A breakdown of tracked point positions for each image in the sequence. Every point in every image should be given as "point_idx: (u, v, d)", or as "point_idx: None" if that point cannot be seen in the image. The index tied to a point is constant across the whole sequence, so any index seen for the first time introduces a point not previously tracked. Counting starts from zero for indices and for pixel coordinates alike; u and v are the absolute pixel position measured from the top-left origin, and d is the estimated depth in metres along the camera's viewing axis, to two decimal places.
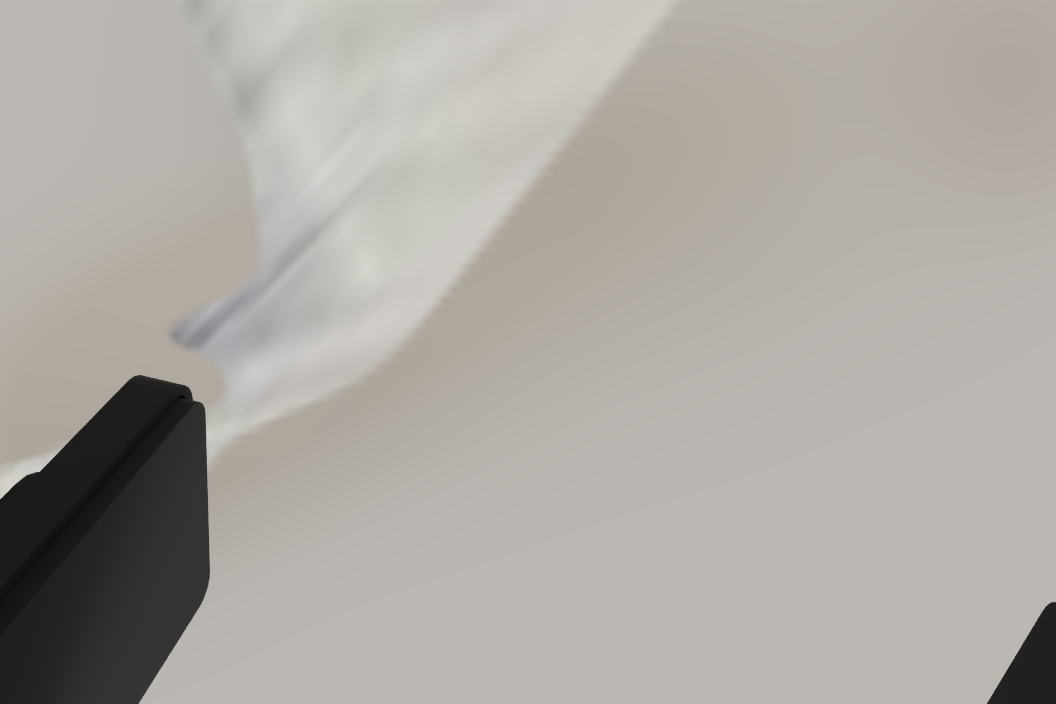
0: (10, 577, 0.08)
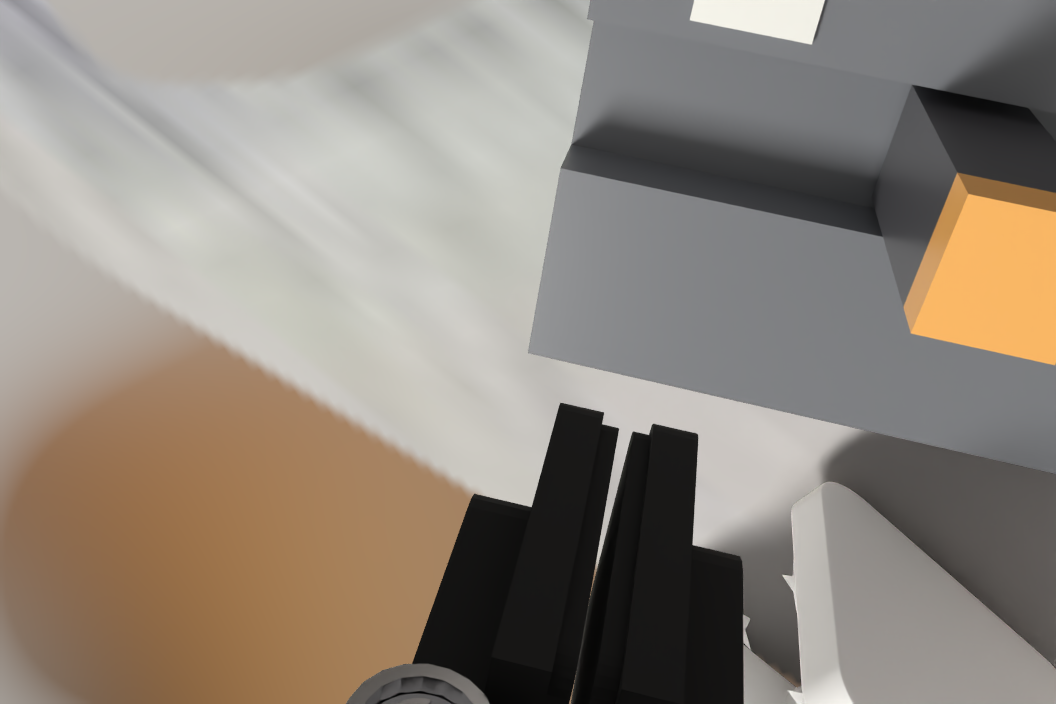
0: (564, 596, 0.09)
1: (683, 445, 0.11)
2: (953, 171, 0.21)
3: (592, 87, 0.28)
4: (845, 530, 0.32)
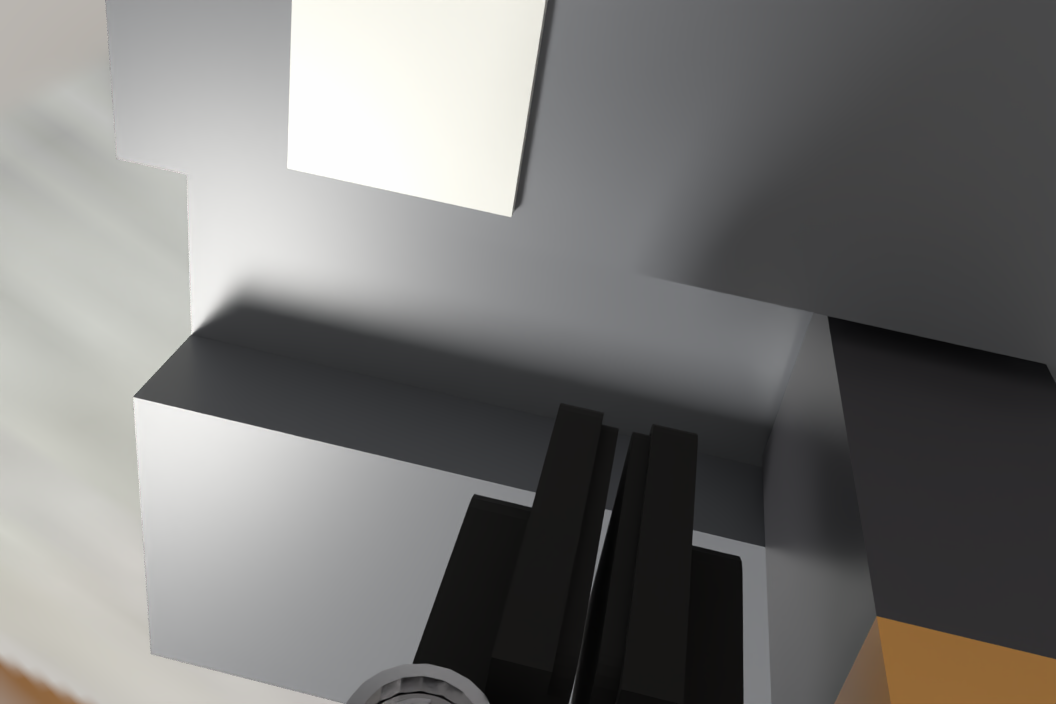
0: (564, 596, 0.09)
1: (683, 445, 0.11)
2: (870, 602, 0.09)
3: (205, 248, 0.17)
4: None
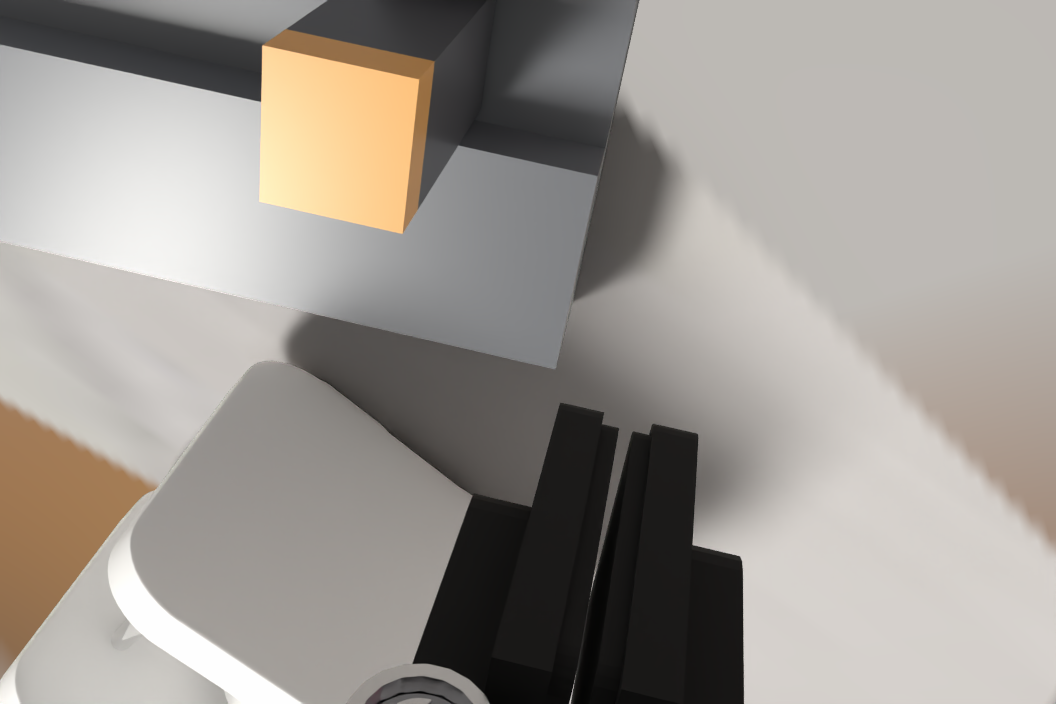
0: (565, 596, 0.09)
1: (683, 445, 0.11)
2: (290, 30, 0.20)
3: None
4: (253, 403, 0.32)
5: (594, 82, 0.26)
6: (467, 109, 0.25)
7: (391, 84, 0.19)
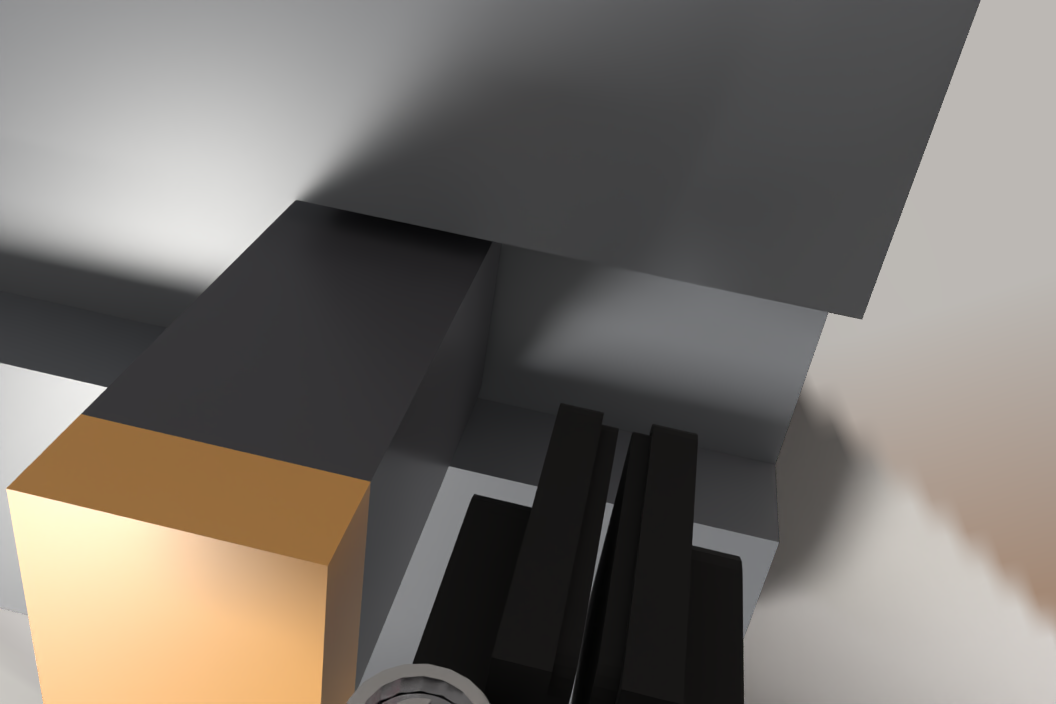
0: (564, 596, 0.09)
1: (683, 445, 0.11)
2: (95, 406, 0.10)
3: None
4: None
5: (763, 374, 0.16)
6: (456, 423, 0.15)
7: (272, 570, 0.09)
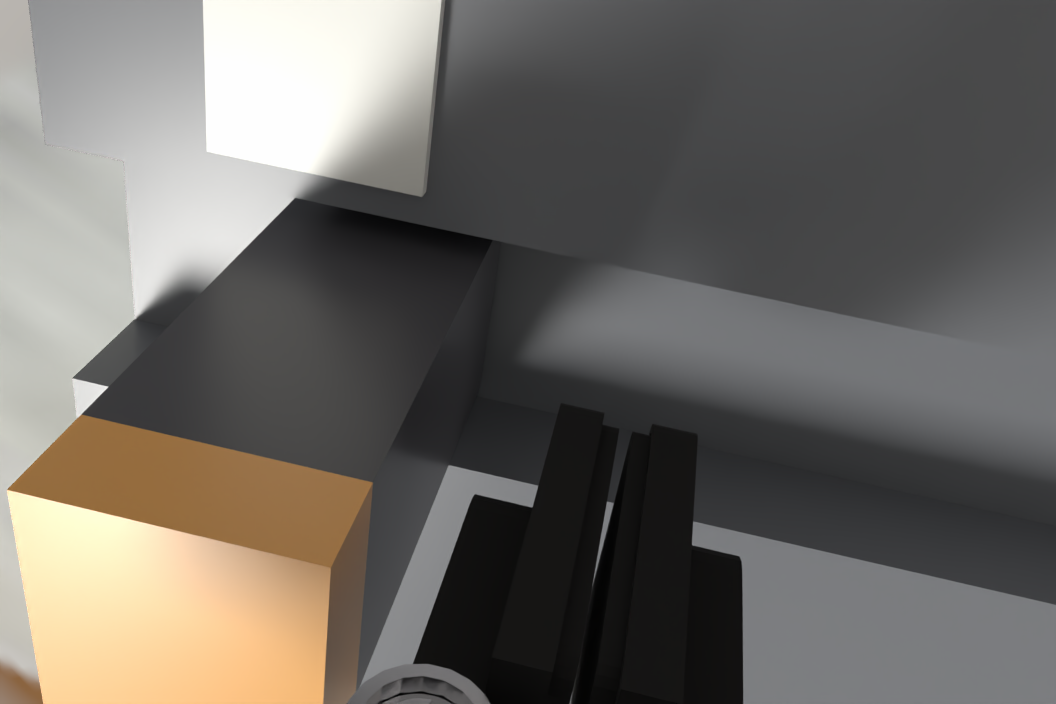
0: (565, 596, 0.09)
1: (683, 445, 0.11)
2: (96, 408, 0.10)
3: (145, 234, 0.17)
4: None
5: None
6: (455, 422, 0.15)
7: (275, 571, 0.09)
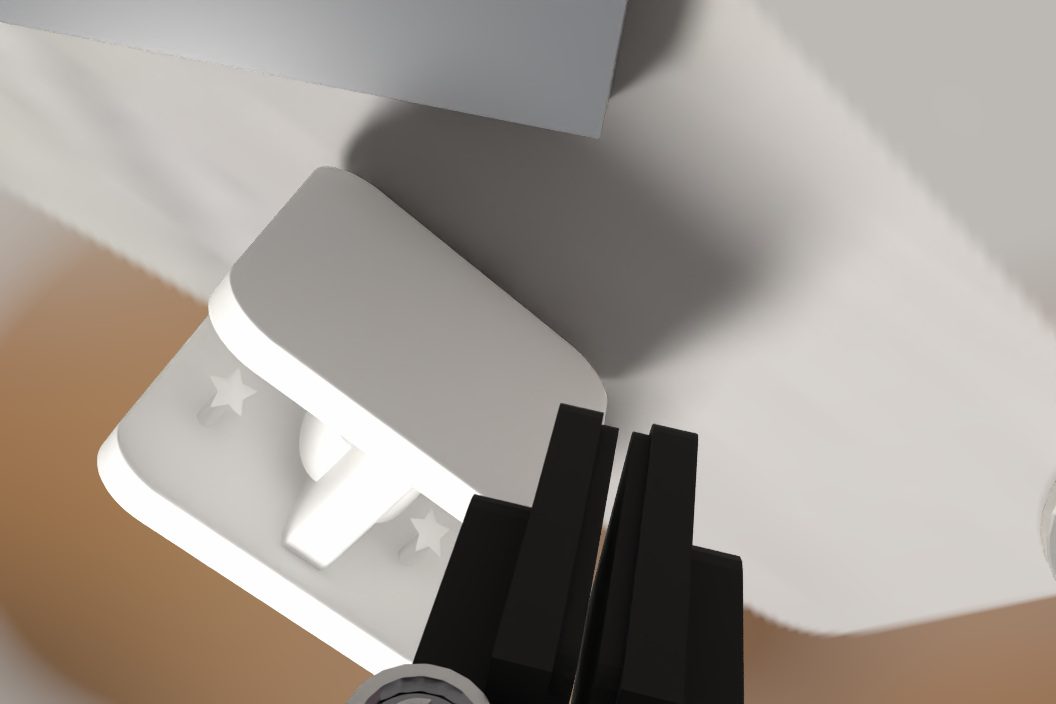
0: (564, 596, 0.09)
1: (683, 445, 0.11)
2: None
3: None
4: (322, 195, 0.35)
5: None
6: None
7: None
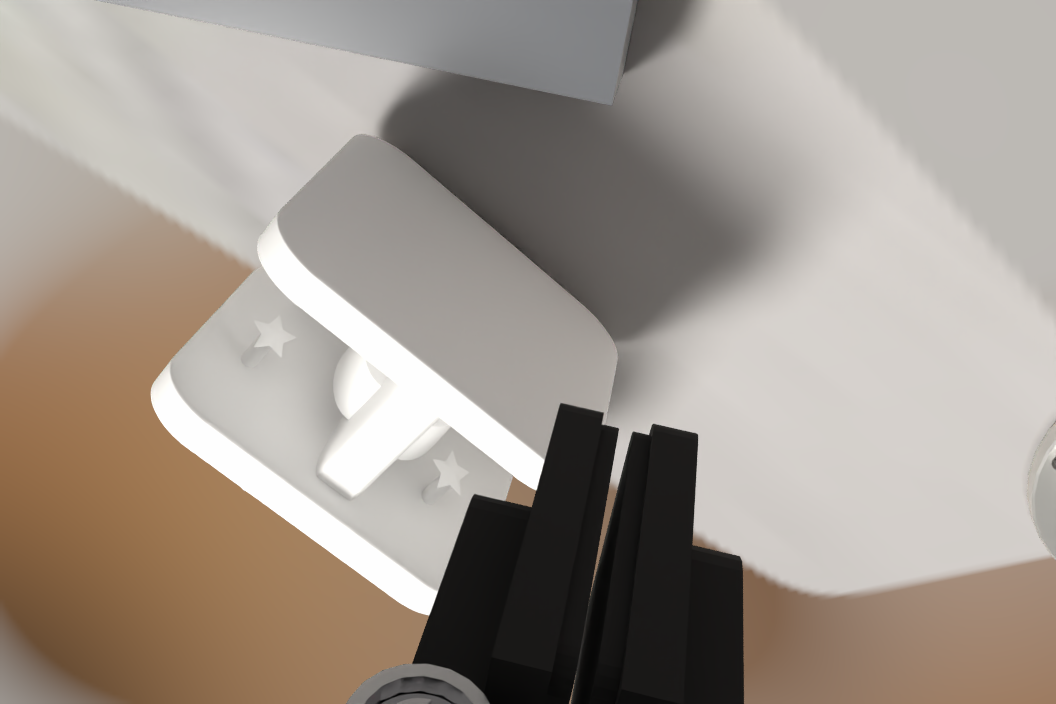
0: (564, 596, 0.09)
1: (683, 445, 0.11)
2: None
3: None
4: (360, 157, 0.38)
5: None
6: None
7: None
